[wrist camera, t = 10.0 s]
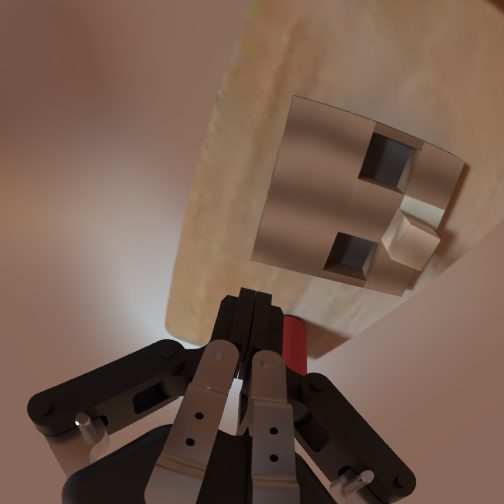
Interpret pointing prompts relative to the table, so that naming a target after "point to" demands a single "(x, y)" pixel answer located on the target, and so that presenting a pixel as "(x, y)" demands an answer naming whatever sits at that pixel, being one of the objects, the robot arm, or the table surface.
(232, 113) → the table surface
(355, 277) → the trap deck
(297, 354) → the beer can
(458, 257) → the table surface
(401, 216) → the maple block
